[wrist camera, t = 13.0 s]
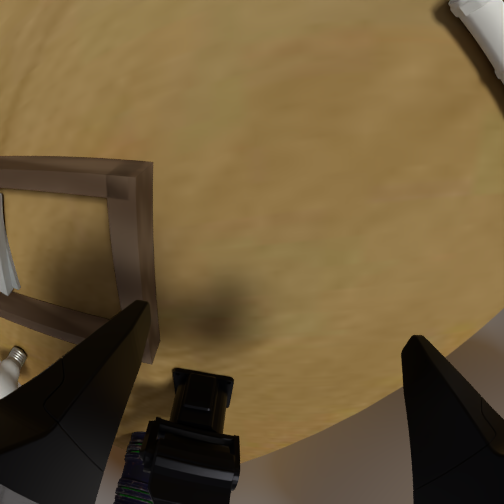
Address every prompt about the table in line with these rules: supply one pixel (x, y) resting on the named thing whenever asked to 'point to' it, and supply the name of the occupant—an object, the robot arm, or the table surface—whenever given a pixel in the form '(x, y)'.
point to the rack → (121, 232)
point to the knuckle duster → (484, 27)
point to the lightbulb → (11, 371)
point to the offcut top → (4, 258)
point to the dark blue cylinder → (133, 475)
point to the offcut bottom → (11, 265)
